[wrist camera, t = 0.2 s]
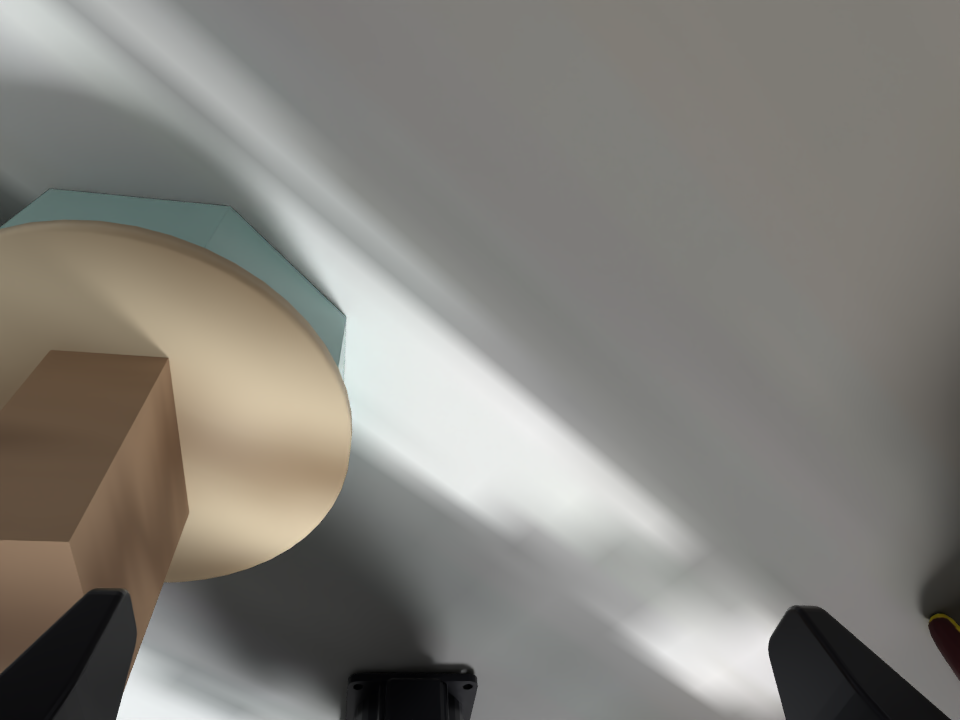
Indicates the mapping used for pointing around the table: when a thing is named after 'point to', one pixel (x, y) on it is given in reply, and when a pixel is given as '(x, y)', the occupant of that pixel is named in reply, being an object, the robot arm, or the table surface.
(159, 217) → the bowl
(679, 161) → the table surface
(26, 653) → the robot arm
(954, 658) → the decorative lantern
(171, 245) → the lid
